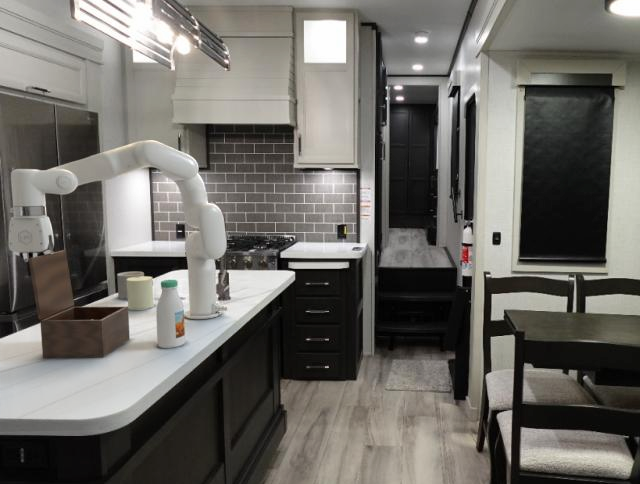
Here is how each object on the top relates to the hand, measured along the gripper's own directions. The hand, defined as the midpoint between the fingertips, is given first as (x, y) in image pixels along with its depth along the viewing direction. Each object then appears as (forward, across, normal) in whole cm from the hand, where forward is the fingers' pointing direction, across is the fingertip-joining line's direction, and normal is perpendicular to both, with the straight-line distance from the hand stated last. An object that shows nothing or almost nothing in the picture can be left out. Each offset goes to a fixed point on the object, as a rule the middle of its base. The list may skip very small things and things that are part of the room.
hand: (34, 274), depth 144 cm
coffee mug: (+23, -2, +66) cm, 70 cm away
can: (+23, +8, +48) cm, 54 cm away
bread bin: (+22, +14, 0) cm, 26 cm away
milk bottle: (+23, +37, +3) cm, 43 cm away
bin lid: (+3, +5, 0) cm, 6 cm away
